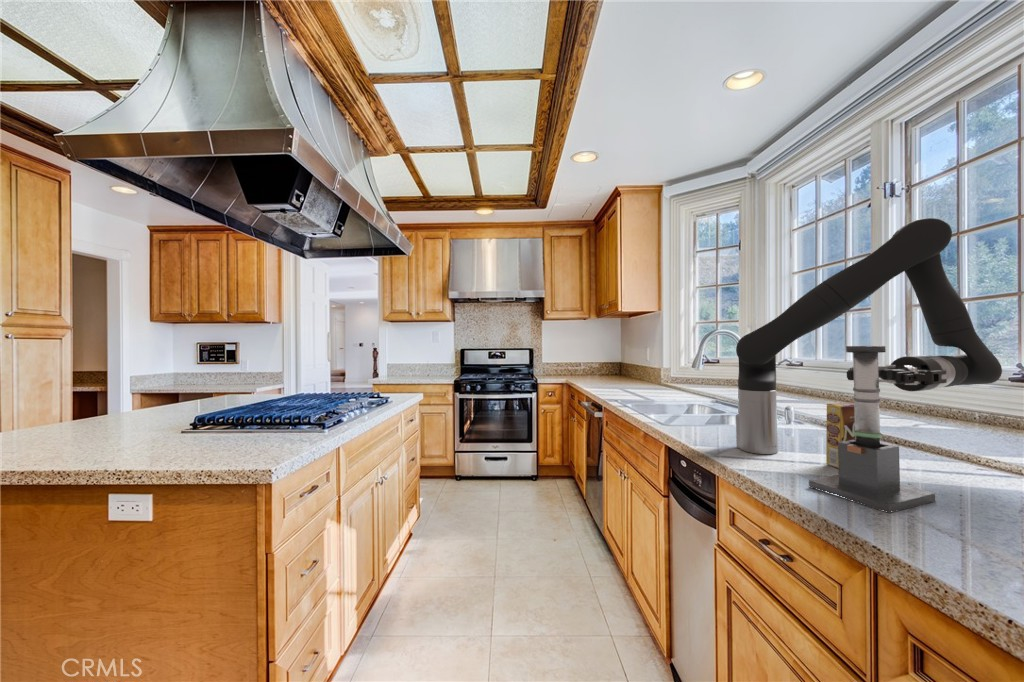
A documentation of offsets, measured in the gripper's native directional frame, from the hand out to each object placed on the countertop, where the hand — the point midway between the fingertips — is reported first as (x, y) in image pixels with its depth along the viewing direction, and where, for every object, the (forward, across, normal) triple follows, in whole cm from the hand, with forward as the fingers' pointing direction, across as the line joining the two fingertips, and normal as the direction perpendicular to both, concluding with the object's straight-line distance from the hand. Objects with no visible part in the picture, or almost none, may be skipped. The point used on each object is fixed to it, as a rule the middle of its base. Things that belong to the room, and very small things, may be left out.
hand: (872, 376), depth 83 cm
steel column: (+2, 0, +15) cm, 15 cm away
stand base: (+2, 0, +24) cm, 24 cm away
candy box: (-14, -13, +24) cm, 30 cm away
